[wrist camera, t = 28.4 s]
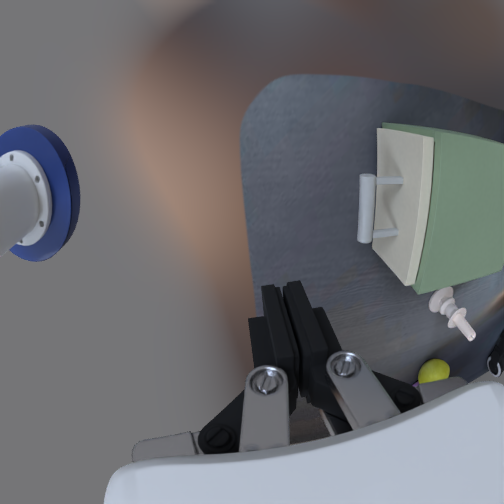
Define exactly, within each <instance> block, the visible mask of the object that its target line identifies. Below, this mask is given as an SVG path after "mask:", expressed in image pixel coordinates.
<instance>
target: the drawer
mask: <svg viewBox="0 0 504 504" xmlns="http://www.w3.org/2000/svg"><path fill="white" fill-rule="evenodd" d="M434 152H435V142H434V138H432V137H428V136H423V135H419V134H414V133H409V132H403V131H398V130H392V129H384V128H377V177H376V176H375V175H372V174H360V189H359V216H358V233H357V240H358V241H359V242H361V243H370V242H371V241H372V238H373V244H372V249H373V250H374V251H375V252H376V253H377V254H378V255H379V256H380V257H381V259H382V260H383V261H384V262H385V263H386V264H387V265H388V266H389V268H390V269H391V270H392V271H393V272H394V273H395V275H396V276H397V277H398V278H399V279H400V281H401V282H402V283H403V284H404V285H405V286H408V285H413V284H415V280H416V276H417V272H418V268H419V267H420V263H421V258H422V253H423V248H424V243H425V237H426V232H427V219H428V212H429V204H430V195H431V185H432V173H433V172H434ZM376 185H377V191H376V209H375V222H374V208H375V189H376ZM373 222H374V230H373Z"/></svg>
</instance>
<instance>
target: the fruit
mask: <svg viewBox="0 0 504 504" xmlns="http://www.w3.org/2000/svg"><path fill="white" fill-rule="evenodd" d="M449 372H450V369H449V366H448V364H447V363H446V362H444V361H443V360H440V359H430V360H428V361H426V362H425V363H424V364H423V366H422V367H421V369H420V371H419V375H418V381H419V384H420V383H426V382H431V381H436V380H441V379H446V378H448V376H449Z"/></svg>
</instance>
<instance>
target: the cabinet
mask: <svg viewBox="0 0 504 504" xmlns="http://www.w3.org/2000/svg"><path fill="white" fill-rule="evenodd" d="M382 128H384V129H392V130H398V131H403V132H409V133H414V134H419V135H423V136H428V137H432V138H434V142H435V152H434V172H433V185H432V195H431V204H430V212H429V219H428V225H427V232H426V237H425V243H424V248H423V253H422V258H421V263H420V267H419V268H418V272H417V276H416V280H415V284H413V285H411V287H412V288H413V289H414V290H415V291H416V293H417V294H418V295H419V294H423V293H427V292H431V291H435V290H439V289H442V288H446V287H450V286H453V285H457V284H460V283H464V282H467V281H471V280H474V279H477V278H480V277H484V276H487V275H490V274H493V273H496V272H499V271H501V270H502V267H503V264H504V144H503V143H500V142H497V141H493V140H490V139H486V138H482V137H478V136H475V135H470V134H466V133H461V132H455V131H449V130H443V129H437V128H430V127H423V126H415V125H405V124H395V123H382Z"/></svg>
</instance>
